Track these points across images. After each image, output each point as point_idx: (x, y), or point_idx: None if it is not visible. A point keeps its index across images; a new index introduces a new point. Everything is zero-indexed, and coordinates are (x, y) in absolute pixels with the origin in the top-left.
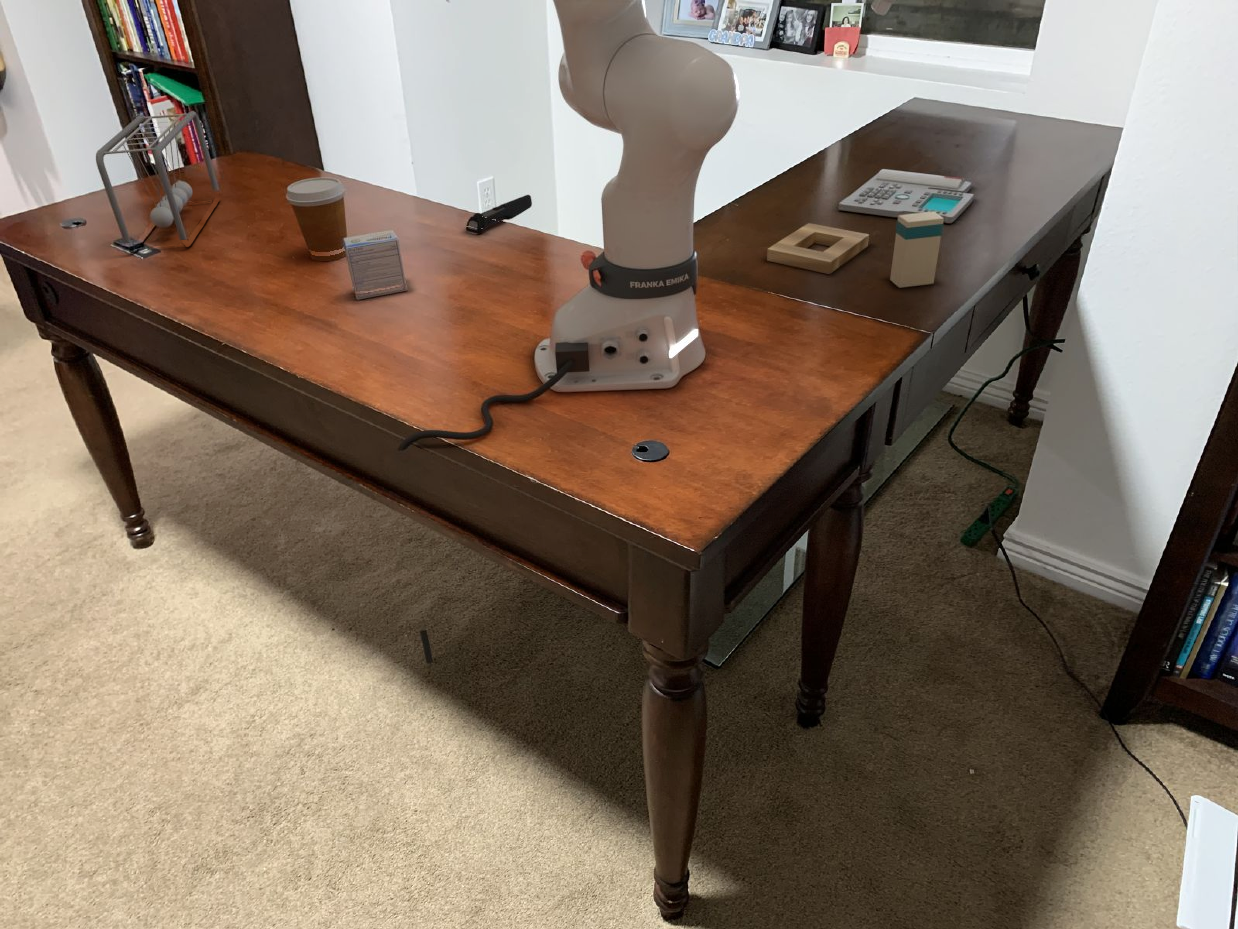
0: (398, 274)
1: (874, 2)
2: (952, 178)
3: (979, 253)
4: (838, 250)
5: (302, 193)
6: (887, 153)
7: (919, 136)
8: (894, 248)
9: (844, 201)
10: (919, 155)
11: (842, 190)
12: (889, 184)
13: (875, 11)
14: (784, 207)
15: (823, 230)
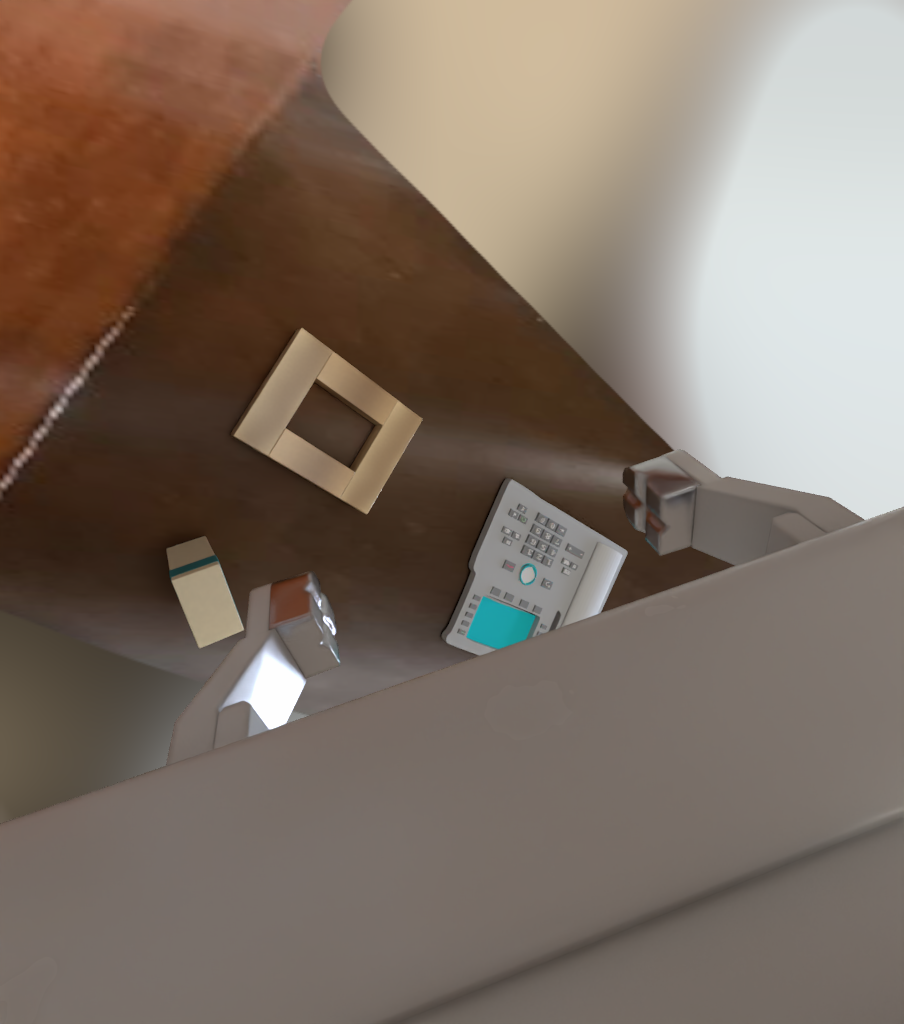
0: None
1: (295, 591)
2: None
3: (325, 675)
4: (292, 456)
5: None
6: (692, 563)
7: None
8: (209, 548)
9: (519, 488)
10: None
11: (579, 491)
12: (577, 559)
13: (252, 589)
14: (525, 396)
15: (387, 440)
